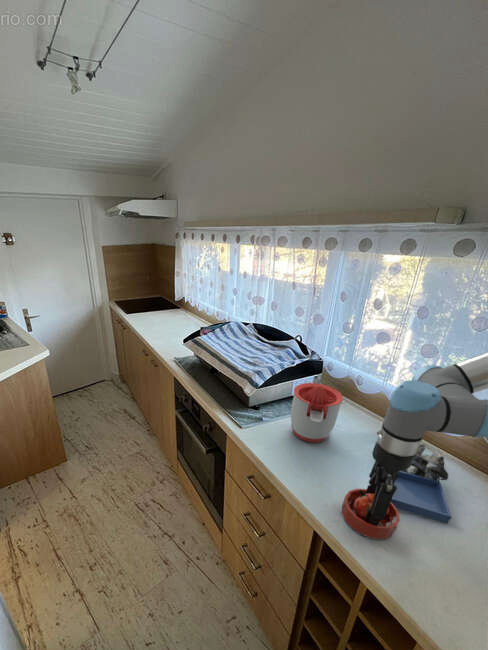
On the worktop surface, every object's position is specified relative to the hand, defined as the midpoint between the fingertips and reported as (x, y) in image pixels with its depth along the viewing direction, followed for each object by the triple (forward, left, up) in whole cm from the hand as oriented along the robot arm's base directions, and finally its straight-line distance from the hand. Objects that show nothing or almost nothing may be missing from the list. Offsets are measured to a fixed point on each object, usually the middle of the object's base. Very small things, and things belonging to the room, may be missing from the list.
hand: (368, 516), depth 79 cm
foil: (-13, -27, -1) cm, 30 cm away
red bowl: (0, 0, -1) cm, 1 cm away
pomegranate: (0, 0, 0) cm, 1 cm away
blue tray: (-12, -14, -1) cm, 18 cm away
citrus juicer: (+18, -31, -1) cm, 36 cm away
